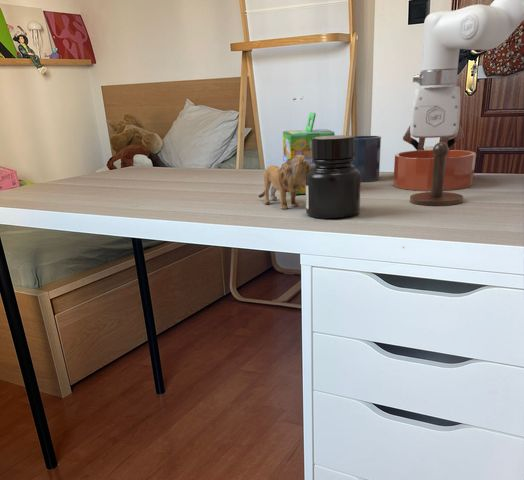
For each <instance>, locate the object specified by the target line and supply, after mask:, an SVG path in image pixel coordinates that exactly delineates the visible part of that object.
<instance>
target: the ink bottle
mask: <svg viewBox="0 0 524 480" xmlns="http://www.w3.org/2000/svg"><path fill="white" fill-rule="evenodd" d="M355 136H356V135H350V134H348V135H347V134H346V135H343V134H341V135H340V134H339V135H336V134H335V136H321V137H314V138H312V158H313V159H312V162H313V163H315V166H313V167H312V168H311V170H310V171H308V173H307V174H306V194H305V212H306V213H305V214H306V215H308V216H311V217H314V218H320V219H342V218H347V217H352V216H355V215H358V214H359V213H360V211H361V185H362V182H361V173H360V171H359V170H358V169H356V168H355V166H354V165H352V164H351V162H353V161H354V159H355V158H354V156H355Z"/></svg>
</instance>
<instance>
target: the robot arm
mask: <svg viewBox="0 0 524 480" xmlns="http://www.w3.org/2000/svg"><path fill="white" fill-rule="evenodd" d="M523 21H524V0H492V2H491V4H489V5H488V4H482V3H481V4H471V5H468V6H464V7H462V8H459V9H455V10H440V11H434V12H431V13H429V14H428V15H427V16H426V17H425V19H424V22H423V29H422V30H423V32H422V45H421V47H422V48H421V60H420V73H418V74H415V75H413V76H412V83H416V84H418V85H419V86H418V87H417V88H415V90H414V94H413V98H412V99H413V100H412V106H411V112H410V113H411V114H410V122H409V123H410V124H409V126H408V128H407V129H406V131H405V133H404V135H403V136H402V140H403V141H404V142H406V143H408V144H410V145H411V146H412V147H413V148H414V149H415V151H417V150H425V143H426V139H432V138H433V139H435V138H440V142H444V143H446V144H447V145H448V148H449V149H450V148H451V147H452V146H454V144H456V143H457V142H460V141H461V140H463V139H465V134H464V131H463V129H462V126H461V124H460V117H461V87H460V86H459V85H457V80H458V68H459V59H460V52H461V51H460V50H469V51H470V50H471V51H490V50H494V49H496V48H497V47H499V46H501V45H502V44H503V43H504V42H505V41H507V40H508V39H509V38H510V36H511V35H512V34H513V33H514V32H515V31H516V30H517V29H518V27H519V26H520V25H521V24H522V22H523ZM448 138H449V139H448ZM417 139H418V140H417Z"/></svg>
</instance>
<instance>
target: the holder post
mask: <svg viewBox="0 0 524 480" xmlns="http://www.w3.org/2000/svg"><path fill="white" fill-rule="evenodd" d="M433 146H434V147H433V155H434V162H433V173H432V185H431V191H423V192H417V193H414V194H411V195H410V196H409V202H410V203H411V204H414V205H420V206H427V207H429V206H430V207H444V206H445V207H446V206H454V205H458V204H461V203H463V201H464V195H462V194H461V193H456V192H448V191H447V192H446V191H443V184H444V173H445V163H446V155H447V154H448V151H449V150H450V148H448V145H447V144H446V143H444V142H441V141H440V142H439V141H438V142H436V144H434V145H433Z"/></svg>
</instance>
